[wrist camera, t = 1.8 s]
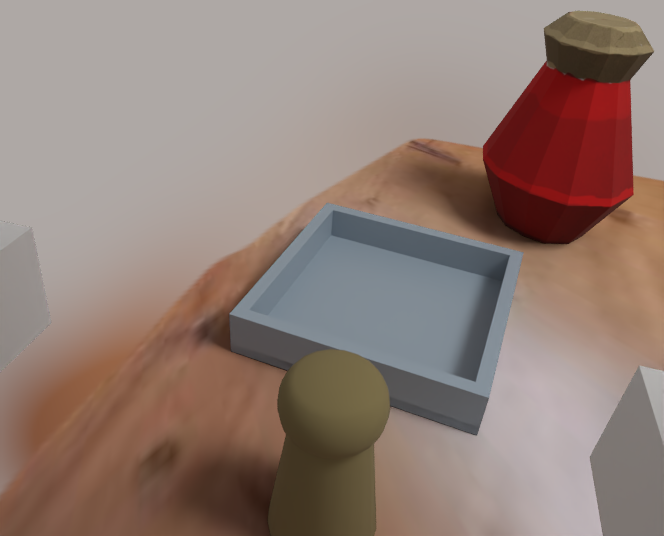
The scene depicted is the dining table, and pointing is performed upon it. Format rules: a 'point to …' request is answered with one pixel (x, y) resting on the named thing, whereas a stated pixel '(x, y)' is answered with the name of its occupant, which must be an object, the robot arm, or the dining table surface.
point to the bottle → (569, 131)
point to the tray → (388, 309)
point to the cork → (328, 446)
